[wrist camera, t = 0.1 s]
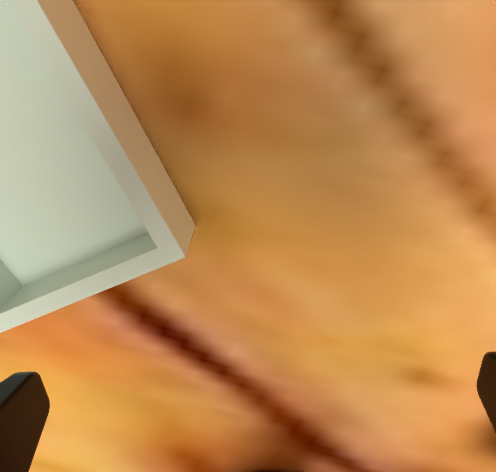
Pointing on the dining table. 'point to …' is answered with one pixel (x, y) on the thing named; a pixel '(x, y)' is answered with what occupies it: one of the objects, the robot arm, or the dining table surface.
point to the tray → (73, 170)
